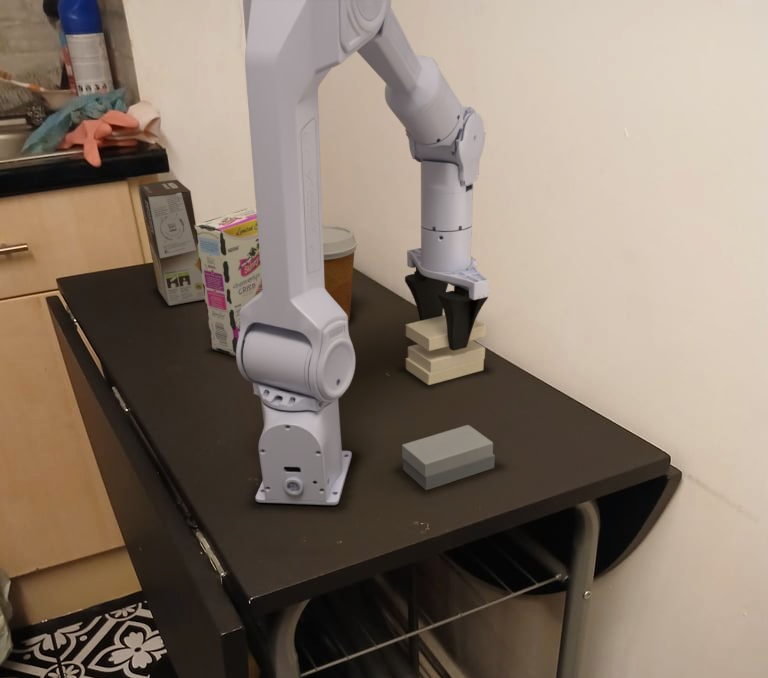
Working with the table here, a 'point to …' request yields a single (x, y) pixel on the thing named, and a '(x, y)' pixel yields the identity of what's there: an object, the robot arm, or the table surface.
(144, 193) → the coffee box
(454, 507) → the table surface
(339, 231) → the disposable coffee cup
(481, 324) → the cream rectangular block
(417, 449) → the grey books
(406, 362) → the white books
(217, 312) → the candy bar box
